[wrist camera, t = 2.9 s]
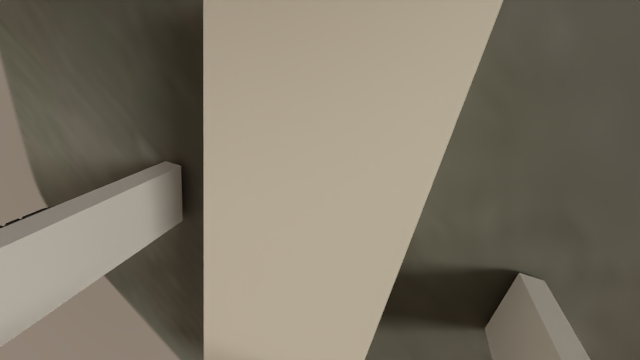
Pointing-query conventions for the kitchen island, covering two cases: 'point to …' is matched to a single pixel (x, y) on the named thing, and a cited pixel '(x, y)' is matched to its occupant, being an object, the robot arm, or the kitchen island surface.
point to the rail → (322, 161)
